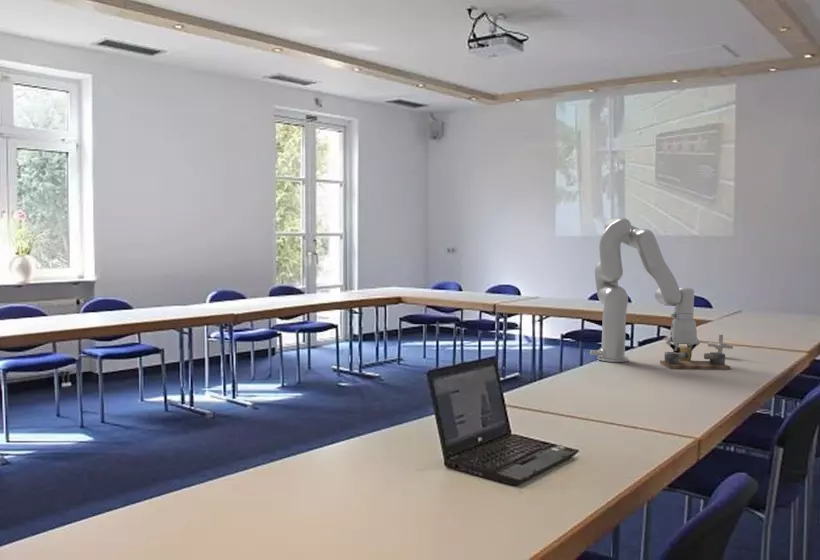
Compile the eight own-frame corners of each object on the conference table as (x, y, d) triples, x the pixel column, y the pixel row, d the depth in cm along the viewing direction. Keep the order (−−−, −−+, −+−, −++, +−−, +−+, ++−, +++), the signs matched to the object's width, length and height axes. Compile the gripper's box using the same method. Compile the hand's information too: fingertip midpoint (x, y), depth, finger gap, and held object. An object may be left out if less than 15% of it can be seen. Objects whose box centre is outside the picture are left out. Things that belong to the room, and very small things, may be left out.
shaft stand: (670, 368, 295) (670, 355, 295) (659, 363, 307) (660, 350, 307) (730, 369, 296) (730, 356, 295) (717, 363, 308) (717, 351, 307)
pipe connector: (728, 359, 318) (729, 336, 317) (704, 357, 324) (705, 334, 323) (734, 356, 326) (735, 334, 325) (711, 354, 332) (712, 332, 331)
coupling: (690, 362, 311) (691, 348, 311) (679, 362, 311) (680, 348, 310) (684, 359, 318) (684, 345, 318) (673, 359, 318) (674, 345, 318)
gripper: (667, 317, 309) (665, 361, 311) (707, 318, 310) (705, 361, 311) (660, 315, 317) (659, 358, 318) (700, 316, 317) (698, 358, 318)
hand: (682, 359), depth 314 cm, fingers closed on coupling, 4 cm apart
